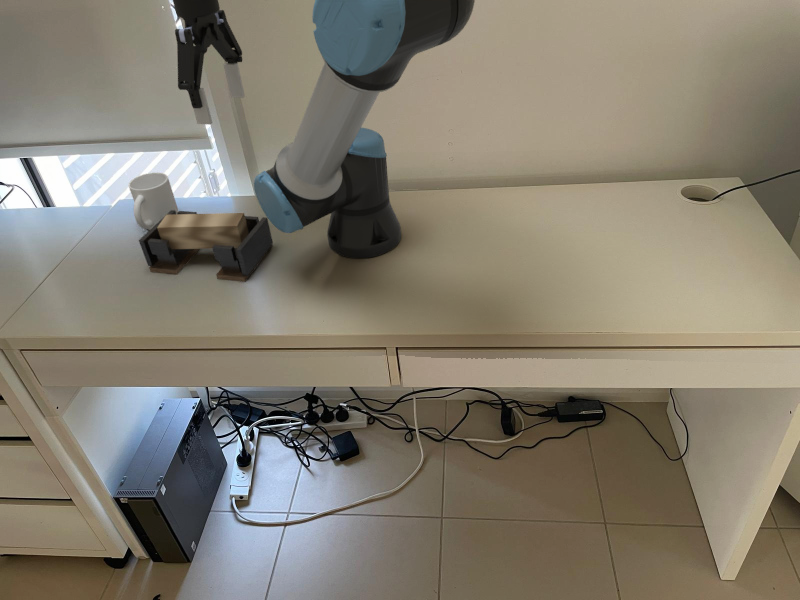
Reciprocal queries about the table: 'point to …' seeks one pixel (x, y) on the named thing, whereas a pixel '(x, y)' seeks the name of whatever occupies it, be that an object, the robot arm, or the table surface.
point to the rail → (203, 230)
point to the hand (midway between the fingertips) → (222, 109)
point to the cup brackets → (231, 259)
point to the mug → (152, 198)
